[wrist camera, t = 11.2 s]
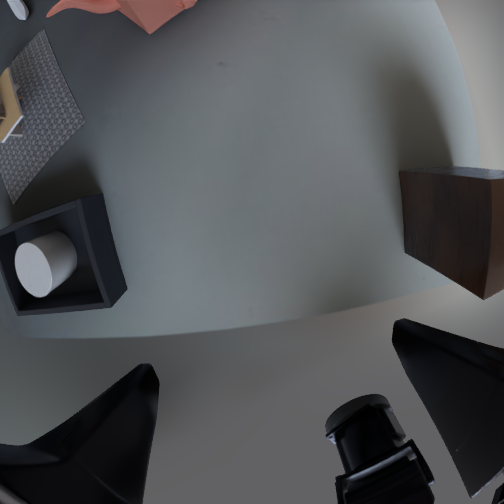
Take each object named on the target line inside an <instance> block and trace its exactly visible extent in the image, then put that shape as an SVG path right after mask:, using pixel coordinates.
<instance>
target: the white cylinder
mask: <svg viewBox="0 0 504 504" xmlns="http://www.w3.org/2000/svg"><path fill="white" fill-rule="evenodd" d="M76 267H77V254H76V250H75V247H74V245H73V243H72V241H71V240H70V239H69V237H68V236H67V235H65V234H64V233H62V232H60V231H51V232H49V233H46V234H44V235H41V236H39V237H36V238H34V239H32V240H29V241H27V242H25V243H23V244H21V245H20V246H19V247H18V249H17V251H16V255H15V268H16V272H17V275H18V278H19V280H20V282H21V284H22V285H23V287H24V288H25V289H26V290H27V291H28V292H29V293H30V294H31V295H33V296H36V297H44V296H46V295H47V294H48V293H50V292H51V291H52V290H54V289H55V288H56V287H58V286H59V285H60V284H62V283H63V282H65V281H66V280H67V279H69V278H70V277H71V276H72V275H73V274H74V272H75V270H76Z"/></svg>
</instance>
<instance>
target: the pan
mask: <svg viewBox="0 0 504 504" xmlns="http://www.w3.org/2000/svg"><path fill="white" fill-rule="evenodd" d="M51 231H60V232H62V233H64V234H65V235H67V236H68V237H69V239H70V240H71V241H72V243H73V245H74V247H75V250H76V254H77V267H76V270H75V272H74V274H73V275H72V276H71V277H70V278H69V279H67V280H66V281H65V282H63V283H62V284H60V285H59V286H58V287H56V288H55V289H54V290H52V291H51V292H50V293H48V294H47V295H46V296H44V297H36V296H33V295H31V294H30V293H29V292H28V291H27V290H26V289H25V288H24V287H23V285H22V284H21V282H20V280H19V278H18V275H17V272H16V268H15V255H16V251H17V249H18V247H19V246H20V245H21V244H23V243H25V242H27V241H29V240H32V239H34V238H36V237H39V236H41V235H44V234H46V233H49V232H51ZM0 270H1V273H2V276H3V279H4V282H5V285H6V288H7V290H8V293H9V296H10V298H11V301H12V304H13V306H14V309H15V311H16V313H17V316H25V315H38V314H51V313H62V312H73V311H84V310H93V309H103V308H111V307H112V306H113V305H114V304H115V303H116V302H117V301H118V299H119V298H120V297H121V296H122V295H123V294H124V292H125V291H126V290H127V286H126V283H125V280H124V276H123V273H122V270H121V266H120V263H119V259H118V256H117V252H116V249H115V245H114V241H113V237H112V233H111V229H110V225H109V221H108V216H107V212H106V207H105V202H104V197H103V194H97V195H92V196H88V197H83V198H79V199H76V200H73V201H70V202H68V203H65V204H62V205H59V206H57V207H54V208H51V209H49V210H46V211H43V212H41V213H38V214H36V215H33V216H31V217H28V218H26V219H24V220H21V221H19V222H17V223H14V224H12V225H10V226H7V227H5V228H3V229H1V230H0Z"/></svg>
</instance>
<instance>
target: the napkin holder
mask: <svg viewBox="0 0 504 504" xmlns="http://www.w3.org/2000/svg"><path fill="white" fill-rule="evenodd" d="M20 87H21V86H20V85H19V84H18V83H14V79H13V76H12V72H11V68H10V67H8V68H6V70H5V71H4V72H3V74H2V75H1V76H0V143H1V144H4V143H5V142H6V140H7V139H8V138H9V137H22V136H23V134H22V131H21V128H20V126H19V123H20V121H21V120H22V119H23V118H24V116H25V115H24V112H23V109H22V106H21V103H20V100H21V99H22V98H23V96H22V95H19V94H18V93H17V90H18V89H19V88H20Z"/></svg>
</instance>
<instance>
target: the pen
mask: <svg viewBox="0 0 504 504" xmlns="http://www.w3.org/2000/svg"><path fill="white" fill-rule="evenodd" d="M7 1H8V3H9V5H10V7H11V9H12V10H13V12H14V14H15V15H16V17H17V18H18V19H20V20H26V19H27V17H28V15H29V11H28V8H27V6H26V5H25V3H24V2H23V0H7Z"/></svg>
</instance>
